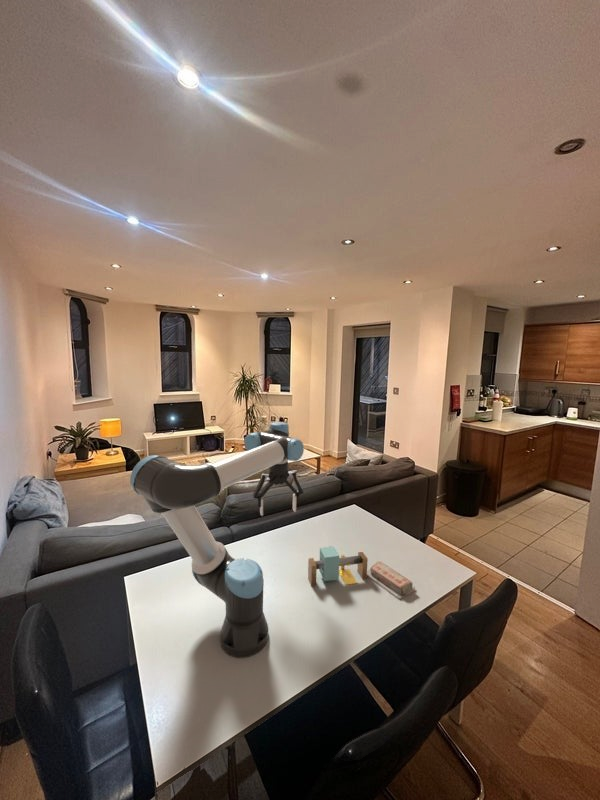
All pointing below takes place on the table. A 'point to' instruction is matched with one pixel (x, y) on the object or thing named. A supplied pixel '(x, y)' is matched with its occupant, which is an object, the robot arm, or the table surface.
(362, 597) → the table surface
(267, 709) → the table surface
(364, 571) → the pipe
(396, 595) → the packaged product
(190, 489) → the robot arm
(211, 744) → the table surface
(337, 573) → the collar
